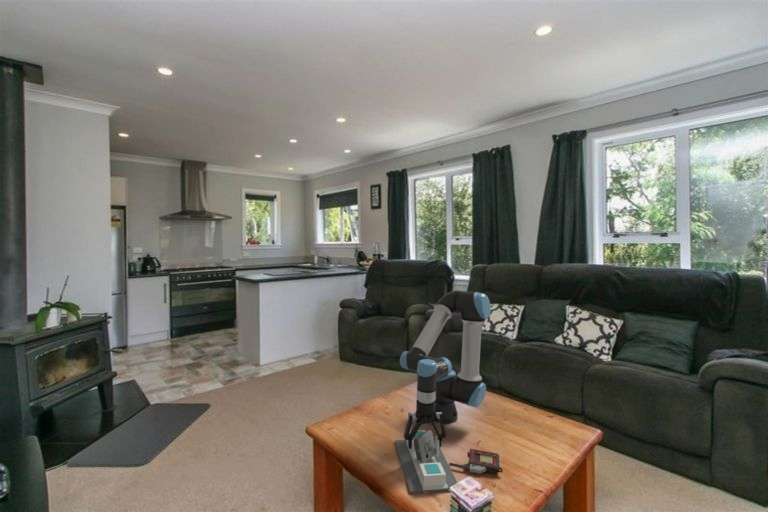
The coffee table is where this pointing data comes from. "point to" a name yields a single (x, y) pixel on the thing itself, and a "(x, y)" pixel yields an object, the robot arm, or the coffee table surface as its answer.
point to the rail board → (412, 470)
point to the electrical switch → (424, 446)
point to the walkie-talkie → (481, 462)
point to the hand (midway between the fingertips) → (424, 455)
